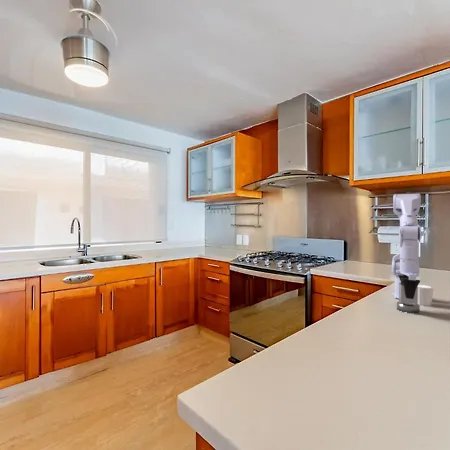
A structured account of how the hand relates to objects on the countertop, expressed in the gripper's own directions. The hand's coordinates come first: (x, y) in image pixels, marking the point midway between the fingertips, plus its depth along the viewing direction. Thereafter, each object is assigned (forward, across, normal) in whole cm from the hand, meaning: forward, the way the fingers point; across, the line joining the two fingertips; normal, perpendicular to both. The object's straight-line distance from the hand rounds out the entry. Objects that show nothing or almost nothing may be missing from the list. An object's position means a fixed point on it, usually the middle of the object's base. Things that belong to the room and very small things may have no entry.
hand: (408, 296), depth 107 cm
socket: (+2, 0, 0) cm, 2 cm away
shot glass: (+5, -13, +7) cm, 16 cm away
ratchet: (+5, -3, 0) cm, 6 cm away
